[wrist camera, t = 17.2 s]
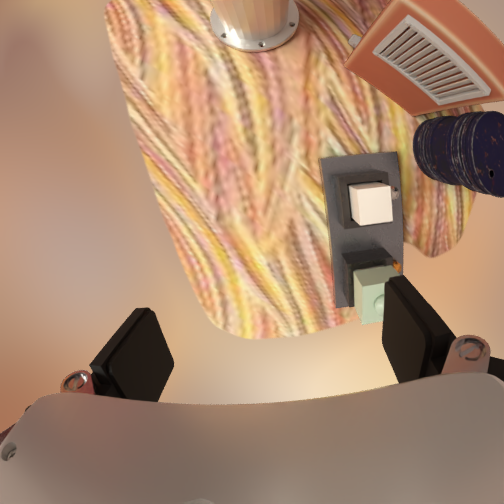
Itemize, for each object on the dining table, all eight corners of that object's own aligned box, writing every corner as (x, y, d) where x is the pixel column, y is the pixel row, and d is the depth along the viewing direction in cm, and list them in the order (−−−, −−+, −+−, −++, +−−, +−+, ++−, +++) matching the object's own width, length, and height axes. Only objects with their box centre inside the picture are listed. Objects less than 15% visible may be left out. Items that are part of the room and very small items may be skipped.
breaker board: (318, 158, 37) (325, 159, 31) (391, 151, 35) (408, 152, 29) (333, 301, 43) (340, 322, 38) (397, 290, 42) (411, 309, 36)
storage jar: (429, 104, 32) (489, 91, 18) (470, 146, 33) (532, 152, 19) (400, 154, 35) (457, 158, 21) (443, 194, 36) (504, 216, 22)
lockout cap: (353, 271, 34) (364, 291, 29) (391, 265, 33) (407, 283, 28) (354, 306, 36) (364, 330, 30) (390, 300, 35) (404, 322, 30)
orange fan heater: (353, 34, 30) (434, 94, 31) (331, 66, 32) (416, 127, 33) (405, -44, 9) (529, 69, 11) (378, -8, 12) (516, 118, 13)
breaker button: (346, 184, 33) (356, 189, 29) (376, 181, 33) (390, 185, 28) (349, 215, 34) (360, 225, 30) (378, 212, 34) (392, 221, 29)
